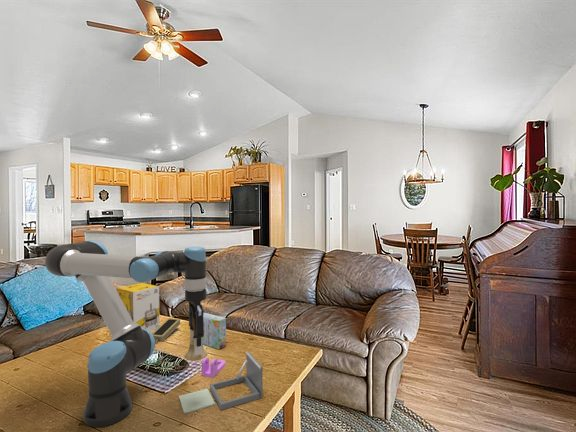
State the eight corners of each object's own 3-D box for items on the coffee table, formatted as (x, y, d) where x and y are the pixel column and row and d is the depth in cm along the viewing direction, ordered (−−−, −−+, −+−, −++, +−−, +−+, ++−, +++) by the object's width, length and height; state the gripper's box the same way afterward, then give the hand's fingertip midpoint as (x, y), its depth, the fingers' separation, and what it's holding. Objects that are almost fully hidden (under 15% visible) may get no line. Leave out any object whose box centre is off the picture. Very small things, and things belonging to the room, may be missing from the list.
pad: (184, 413, 116) (184, 412, 116) (178, 397, 125) (178, 396, 125) (215, 404, 121) (215, 403, 121) (207, 389, 131) (207, 388, 131)
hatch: (220, 410, 118) (220, 377, 117) (209, 389, 131) (209, 359, 131) (262, 397, 126) (262, 366, 125) (248, 379, 139) (248, 351, 138)
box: (181, 326, 195) (180, 318, 194) (161, 348, 173) (159, 340, 172) (168, 325, 196) (167, 317, 195) (146, 347, 174) (145, 339, 173)
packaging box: (133, 337, 182) (133, 292, 181) (117, 331, 190) (116, 288, 189) (159, 328, 195) (159, 286, 194) (143, 322, 204) (142, 282, 203)
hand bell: (195, 362, 117) (195, 318, 116) (179, 357, 121) (179, 314, 121) (212, 353, 124) (212, 311, 123) (197, 348, 128) (196, 308, 128)
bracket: (213, 377, 140) (213, 361, 140) (201, 375, 142) (201, 359, 141) (227, 363, 152) (227, 348, 152) (216, 361, 154) (216, 347, 154)
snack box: (226, 346, 171) (226, 317, 170) (219, 350, 166) (219, 320, 165) (198, 337, 182) (198, 310, 181) (190, 340, 177) (190, 313, 177)
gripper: (212, 293, 115) (213, 359, 116) (199, 282, 132) (200, 339, 133) (190, 296, 111) (191, 363, 112) (180, 284, 128) (181, 342, 129)
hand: (196, 350), depth 122 cm, fingers closed on hand bell, 6 cm apart
